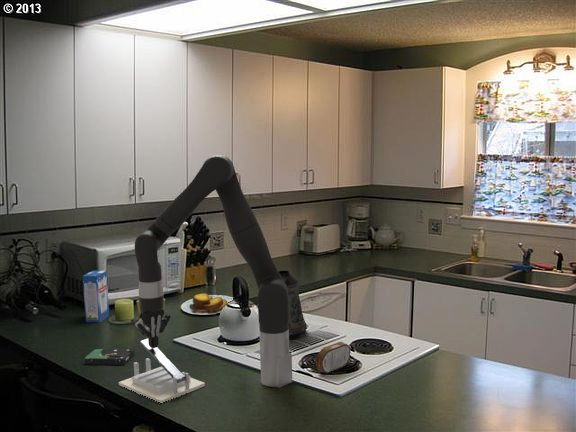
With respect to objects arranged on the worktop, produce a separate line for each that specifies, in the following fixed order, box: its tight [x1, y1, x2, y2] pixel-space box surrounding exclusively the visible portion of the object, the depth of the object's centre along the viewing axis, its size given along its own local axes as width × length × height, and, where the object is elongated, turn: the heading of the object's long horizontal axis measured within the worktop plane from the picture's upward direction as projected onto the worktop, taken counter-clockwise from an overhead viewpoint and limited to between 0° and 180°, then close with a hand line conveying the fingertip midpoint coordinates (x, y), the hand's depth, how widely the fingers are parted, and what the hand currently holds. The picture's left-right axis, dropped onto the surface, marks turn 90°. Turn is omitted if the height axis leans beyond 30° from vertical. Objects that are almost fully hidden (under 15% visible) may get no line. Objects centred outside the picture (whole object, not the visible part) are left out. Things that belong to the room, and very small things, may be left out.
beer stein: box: [278, 270, 307, 341], centre depth 250 cm, size 16×19×25 cm
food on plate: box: [180, 292, 234, 316], centre depth 290 cm, size 25×25×7 cm
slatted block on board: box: [118, 357, 206, 404], centre depth 205 cm, size 22×17×6 cm
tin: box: [315, 341, 352, 374], centre depth 215 cm, size 15×3×8 cm, turn 134°
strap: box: [139, 338, 186, 383], centre depth 204 cm, size 21×3×1 cm, turn 50°
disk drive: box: [83, 347, 135, 366], centre depth 230 cm, size 10×3×15 cm
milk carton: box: [82, 270, 110, 323], centre depth 278 cm, size 10×6×20 cm, turn 172°
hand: (153, 347), depth 206 cm, fingers closed
